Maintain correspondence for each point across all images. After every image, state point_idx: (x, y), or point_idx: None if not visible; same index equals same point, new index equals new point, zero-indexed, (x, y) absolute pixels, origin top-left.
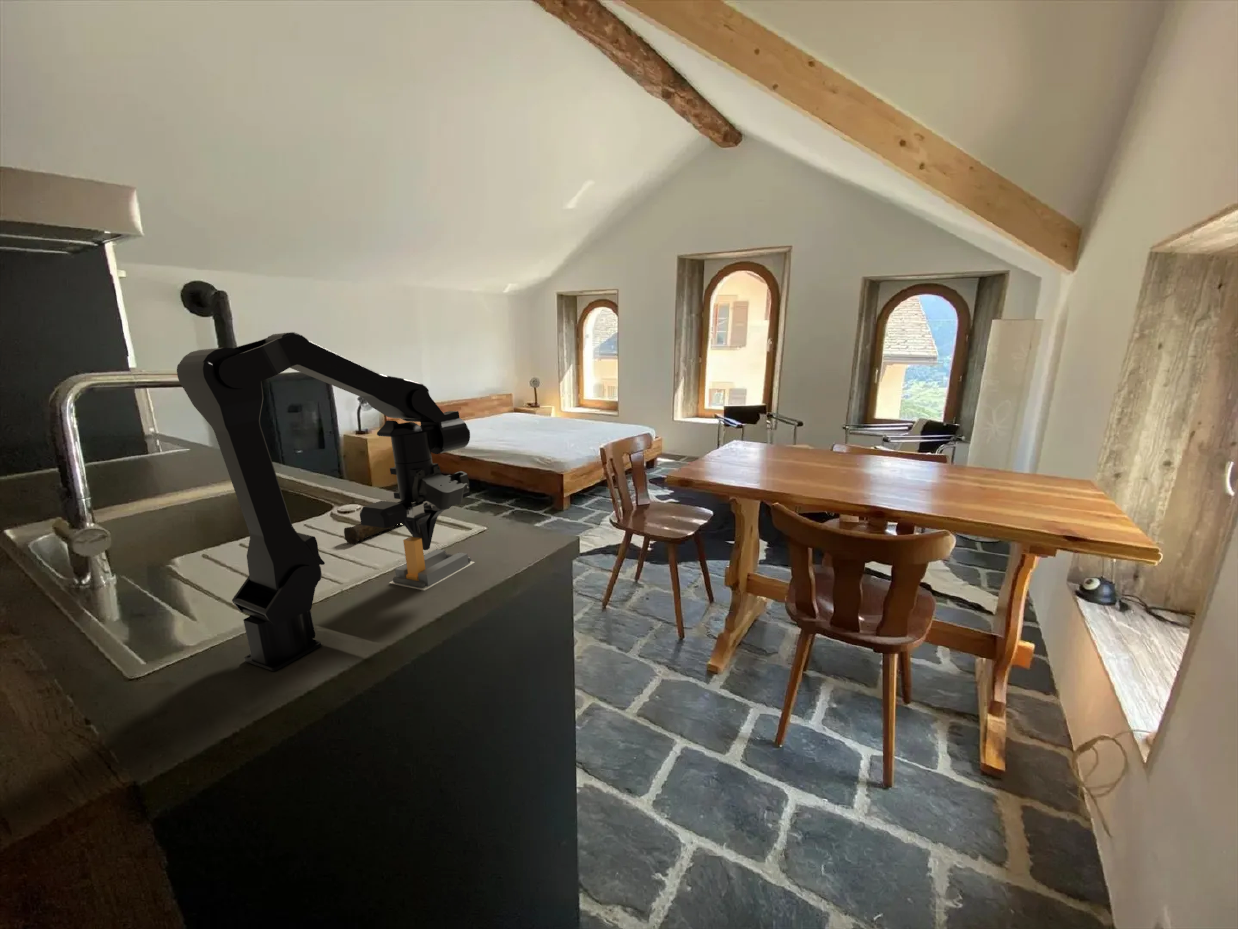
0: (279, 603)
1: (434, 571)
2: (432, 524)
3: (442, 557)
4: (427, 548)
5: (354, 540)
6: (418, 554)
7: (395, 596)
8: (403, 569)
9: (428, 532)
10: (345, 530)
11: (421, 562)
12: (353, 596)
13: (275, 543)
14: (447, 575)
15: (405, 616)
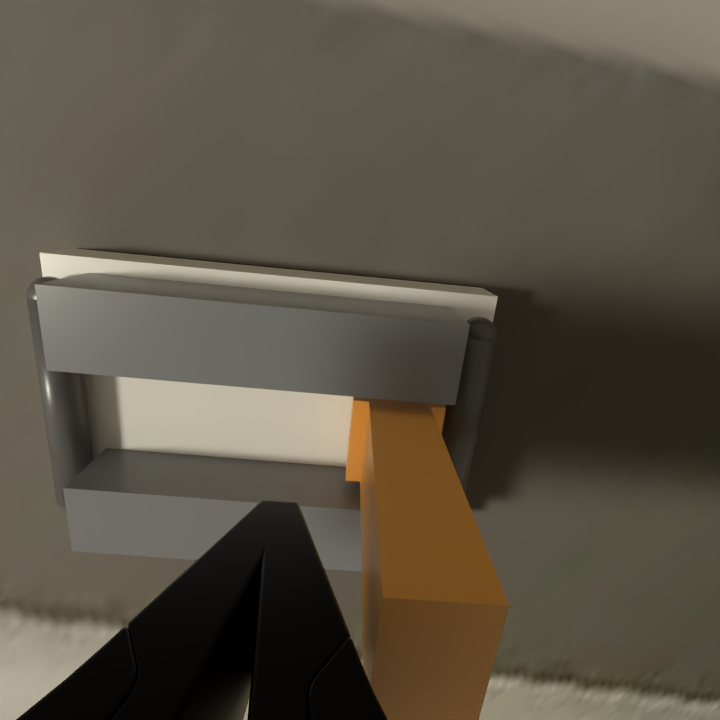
0: None
1: (398, 317)
2: (105, 718)
3: (119, 468)
4: (286, 505)
5: None
6: (434, 486)
7: (483, 451)
8: None
9: (227, 628)
10: None
11: (402, 441)
12: (513, 607)
13: None
14: (289, 293)
15: (671, 257)
